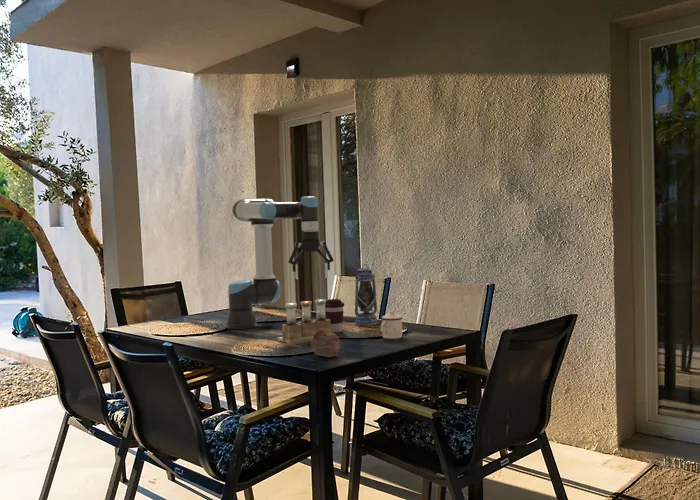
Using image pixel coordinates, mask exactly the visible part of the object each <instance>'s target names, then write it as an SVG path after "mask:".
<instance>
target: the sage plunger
mask: <svg viewBox="0 0 700 500" xmlns="http://www.w3.org/2000/svg"><path fill="white" fill-rule="evenodd" d="M326 300H327V299H324V298H322V299H315V300H314V304H315V307H316V308H315V309H316V319H317V321H325V320H326V315H325V303H326Z"/></svg>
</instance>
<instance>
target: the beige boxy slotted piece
mask: <svg viewBox="0 0 700 500" xmlns="http://www.w3.org/2000/svg"><path fill="white" fill-rule="evenodd" d="M320 330H322V331H324V333H326V334H327V335H331V334H334V335H336V336H337V333H331V320H328V319H326V320H325V321H317V318H316V319H311V323H302V321H296V325H292V326H288V325H287V323H285V324H284V323H282V324H281V335H282V336H279V337H277V341H278V342H280V341H281V343H284V342H286V343H285V344H288V343H290V344H289V345H293V344H294V345H298V344H297V343H300V344H304V343H303V342H305V343H309V341H311V342H312V339H313V337H314V335H315V334H316V333H317V332H319V331H320Z"/></svg>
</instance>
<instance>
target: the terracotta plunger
mask: <svg viewBox="0 0 700 500" xmlns="http://www.w3.org/2000/svg"><path fill="white" fill-rule="evenodd" d="M312 303H313V302H312V301H311V300H310V301H309V300H306V301H305V300H304V301H300V306H301V322H302V323H311V321H312V305H313V304H312Z"/></svg>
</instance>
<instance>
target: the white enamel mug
mask: <svg viewBox="0 0 700 500" xmlns="http://www.w3.org/2000/svg"><path fill="white" fill-rule="evenodd" d="M381 321H382V322H381V324H380V330H381V333H382V338H383V339H389V340H394V339H395V340H396V339H397V340H398V339H401V338H402V337H403V317H402V315H399V314H398V313H395V311H394V310H389V312H388V313H386V314H385V315H382V316H381Z"/></svg>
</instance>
